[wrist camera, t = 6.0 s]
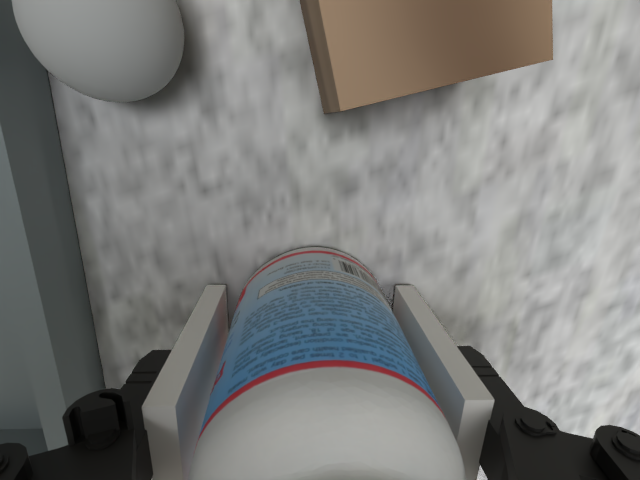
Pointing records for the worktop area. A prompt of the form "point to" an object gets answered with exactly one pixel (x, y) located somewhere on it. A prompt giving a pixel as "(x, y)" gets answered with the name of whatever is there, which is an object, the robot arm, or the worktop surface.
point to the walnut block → (418, 44)
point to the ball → (105, 44)
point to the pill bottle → (321, 384)
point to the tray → (37, 261)
